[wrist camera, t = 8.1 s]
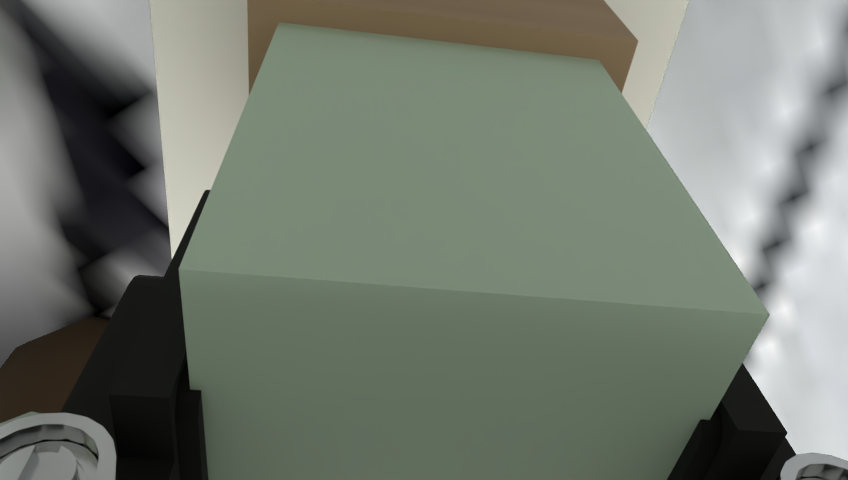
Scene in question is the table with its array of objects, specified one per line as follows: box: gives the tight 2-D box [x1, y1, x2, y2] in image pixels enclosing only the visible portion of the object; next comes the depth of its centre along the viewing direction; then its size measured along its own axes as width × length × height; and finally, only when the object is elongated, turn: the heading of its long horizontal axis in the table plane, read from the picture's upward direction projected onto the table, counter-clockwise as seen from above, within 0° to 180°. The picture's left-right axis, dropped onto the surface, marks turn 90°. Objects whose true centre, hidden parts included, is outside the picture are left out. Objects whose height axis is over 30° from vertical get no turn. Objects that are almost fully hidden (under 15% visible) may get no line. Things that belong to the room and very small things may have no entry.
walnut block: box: [247, 0, 638, 94], centre depth 14 cm, size 6×6×5 cm
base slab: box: [149, 0, 689, 259], centre depth 17 cm, size 12×12×2 cm
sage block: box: [179, 22, 770, 480], centre depth 10 cm, size 5×5×6 cm
